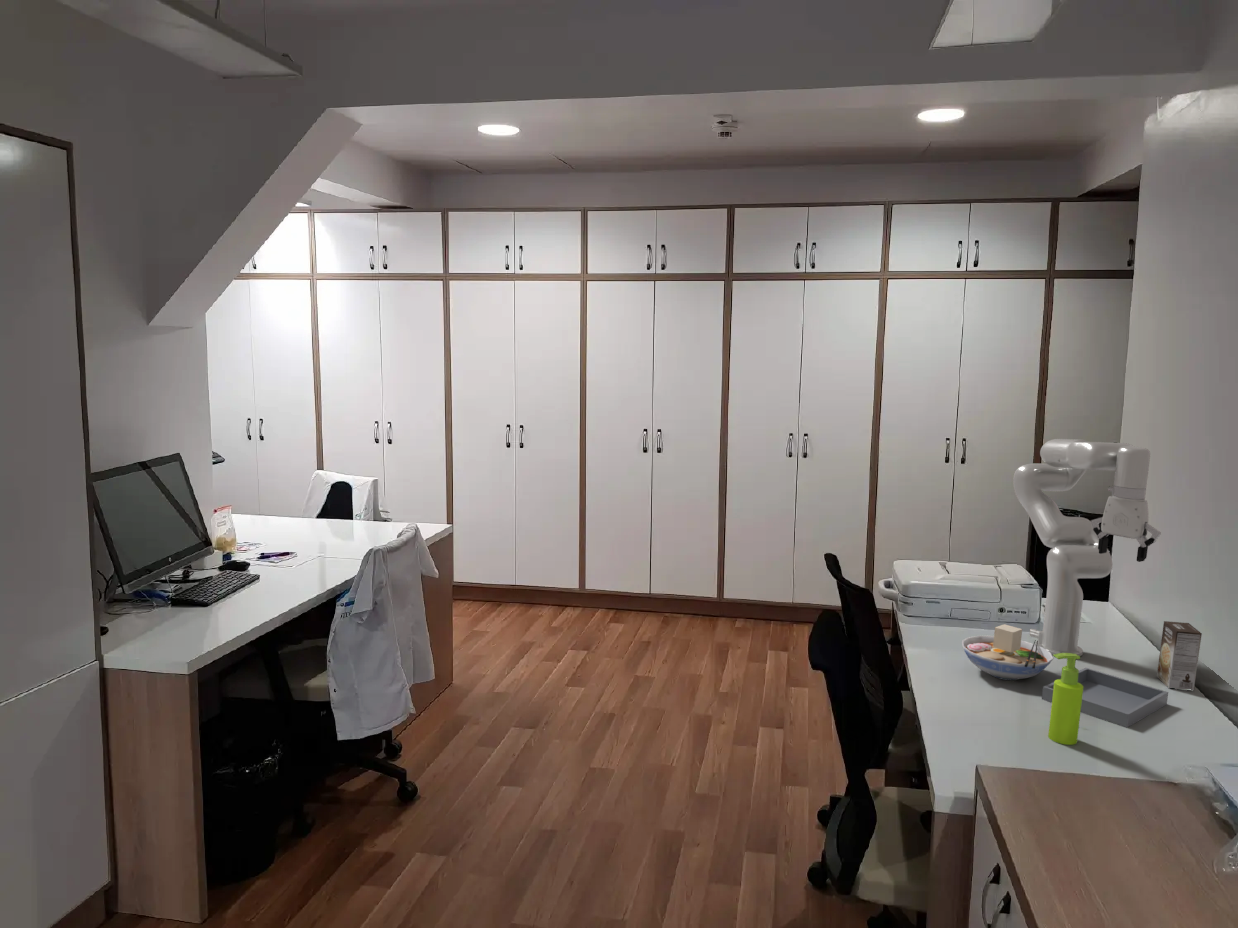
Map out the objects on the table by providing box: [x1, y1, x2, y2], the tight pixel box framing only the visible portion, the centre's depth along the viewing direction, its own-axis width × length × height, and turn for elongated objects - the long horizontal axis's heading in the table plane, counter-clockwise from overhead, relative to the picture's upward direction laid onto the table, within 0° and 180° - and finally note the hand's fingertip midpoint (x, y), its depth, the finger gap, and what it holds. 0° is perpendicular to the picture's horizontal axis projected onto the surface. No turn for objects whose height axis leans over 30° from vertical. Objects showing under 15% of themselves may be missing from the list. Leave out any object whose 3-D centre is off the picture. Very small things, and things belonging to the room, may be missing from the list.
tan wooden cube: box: [993, 623, 1023, 652], centre depth 240 cm, size 5×5×6 cm
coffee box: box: [1156, 620, 1203, 690], centre depth 239 cm, size 9×6×16 cm
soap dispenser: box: [1047, 653, 1083, 746], centre depth 201 cm, size 6×7×20 cm
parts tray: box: [1041, 667, 1169, 729], centre depth 224 cm, size 20×24×4 cm
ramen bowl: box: [961, 635, 1054, 681], centre depth 241 cm, size 25×23×8 cm
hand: (1121, 556), depth 238 cm, fingers open, 9 cm apart
